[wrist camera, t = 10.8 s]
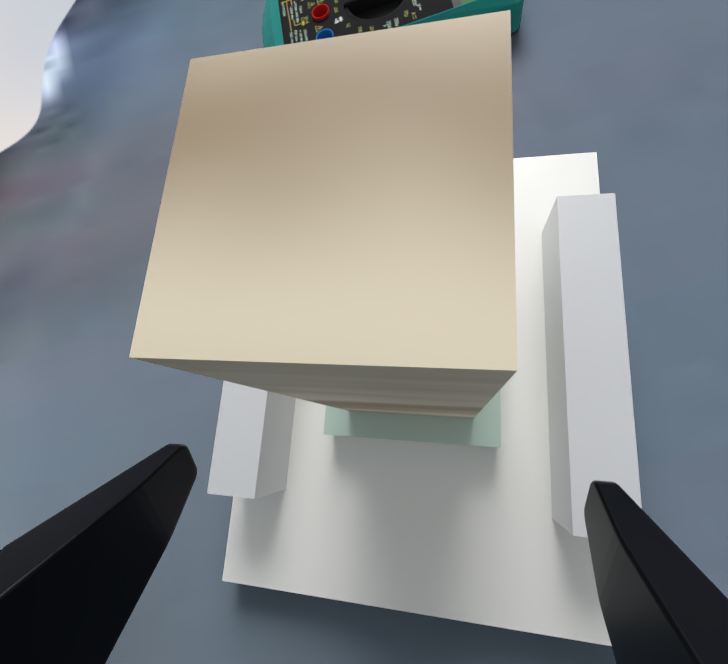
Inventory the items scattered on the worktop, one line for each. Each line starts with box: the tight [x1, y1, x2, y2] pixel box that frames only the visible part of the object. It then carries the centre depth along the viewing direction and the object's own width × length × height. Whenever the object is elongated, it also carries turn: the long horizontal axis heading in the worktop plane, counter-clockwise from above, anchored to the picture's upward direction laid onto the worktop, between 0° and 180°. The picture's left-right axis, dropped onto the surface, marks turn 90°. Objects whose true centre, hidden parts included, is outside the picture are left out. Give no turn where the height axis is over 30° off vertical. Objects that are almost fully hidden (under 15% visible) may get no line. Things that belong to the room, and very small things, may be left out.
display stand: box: [207, 152, 642, 646], centre depth 18 cm, size 20×16×4 cm
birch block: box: [129, 10, 517, 418], centre depth 11 cm, size 5×5×12 cm
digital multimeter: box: [262, 0, 524, 48], centre depth 24 cm, size 7×15×3 cm, turn 99°
